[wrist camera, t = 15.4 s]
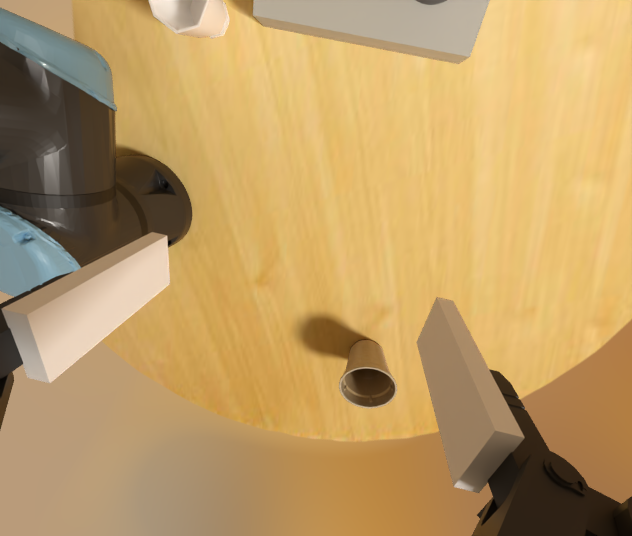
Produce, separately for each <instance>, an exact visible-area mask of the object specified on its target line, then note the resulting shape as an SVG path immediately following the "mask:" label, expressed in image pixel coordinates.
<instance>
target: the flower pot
mask: <svg viewBox="0 0 632 536" xmlns="http://www.w3.org/2000/svg"><path fill="white" fill-rule="evenodd" d="M339 389H340V392H341V394H342V396H343V397H344V398H345V399H346V400H347V401H348V402H350V403H351V404H353V405H355V406H358V407H362V408H377V407H381V406H384V405H386V404H388V403H389V402H391V401H392V400H393V399H394V397H395V396H396V393H397V384H396V381H395V379H394V378H393V377H392V375H391V373H390V372H389V369H388V366H387V363H386V360H385V357H384V353H383V350H382V348H381V346H380V345H378V344H377V343H375V342H374V341H371V340H361V341H358V342H356V343H355V344H354V345H353V346H352V347H351V349H350V354H349V358H348V362H347V367H346V371H345V372H344V374H343V376H342V377H341V379H340V382H339Z"/></svg>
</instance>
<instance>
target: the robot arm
mask: <svg viewBox="0 0 632 536" xmlns="http://www.w3.org/2000/svg"><path fill="white" fill-rule="evenodd" d="M115 111H117V107H116V105H115V104H114V94H113V81H112V72H111V69H110V67H109V65H108V63H107V62H106V60H105V59H104V58H103V57H102V56H101V55H100V54H99V53H98V52H97V51H95V50H94V49H92V48H90V47H88V46H86V45H84V44H82V43H80V42H77V41H75V40H73V39H71V38H68V37H66V36H64V35H62V34H60V33H57V32H55V31H53V30H50V29H48V28H46V27H44V26H42V25H39V24H36V23H35V22H32V21H30V20H28V19H25V18H23V17H21V16H18V15H16V14H14V13H11V12H9V11H7V10H4V9H2V8H0V291H2V292H4V293H6V294H8V295H11V296H14V298H12V299H9V300H7V301H5V302H3V303H2V304H0V429H1V425H2V422H3V418H4V414H5V411H6V407H7V404H8V400H9V397H10V393H11V389H12V386H13V382H14V376H13V373H12V371H14V370H15V369H16V368H18V367H19V366H21V365H22V364H23V366H24V369H25V372H26V374H27V377H28V378H32V379H36V380H40V381H43V382H48V383H50V382H52V381H53V380H54V379H56V378H57V377H58V376H59V375H60V374H61V373H63V372H64V371H65V370H66V369H68V368H69V367H70V366H71V365H72V364H74V363H75V362H76V361H77V360H78V359H80V358H81V357H82V356H83V355H85V354H86V353H87V352H88V351H89V350H91V349H92V348H93V347H94V346H95V345H97V344H98V343H99V342H100V341H101V340H103V339H104V338H105V337H106V336H108V335H109V334H110V333H111V332H112V331H114V330H115V329H116V328H117V327H118V326H120V325H121V324H122V323H123V322H124V321H126V320H127V319H128V318H129V317H131V316H132V315H133V314H134V313H135V312H137V311H138V310H139V309H140V308H141V307H143V306H144V305H145V304H146V303H147V302H149V301H150V300H151V299H152V298H153V297H155V296H156V295H157V294H158V293H160V292H161V291H162V290H163V289H164V288H166V287H167V286H168V285H169V284H170V276H169V258H168V247H170V246H172V245H174V244H175V243H177V242H179V241H180V240H181V239H182V238H183V237H184V236H185V235H186V234H187V232H188V230H189V228H190V225H191V221H192V207H191V202H190V199H189V196H188V193H187V191H186V189H185V187H184V186H183V184H182V182H181V181H180V180H179V178H178V177H177V176H176V175H175V174H174V173H173V172H172V171H171V170H170V169H169V168H168V167H167V166H165V165H164V164H162V163H161V162H159V161H157V160H155V159H153V158H150V157H147V156H143V155H127V156H120V157H116V140H115ZM417 345H418V349H419V353H420V357H421V361H422V365H423V369H424V373H425V377H426V380H427V384H428V388H429V392H430V396H431V400H432V404H433V408H434V412H435V416H436V420H437V423H438V427H439V431H440V435H441V439H442V443H443V447H444V451H445V455H446V459H447V463H448V466H449V470H450V474H451V478H452V482H453V486H454V487H457V488H461V489H465V490H469V491H473V492H476V493H479V492H480V491H481V490H482V489H483V487H484V486H485V485H486V484H487V483H489V486H490V489H491V492H492V495H493V498H492V499H491V500H490V501H489V502H488V503H487V504H486V506H485V507H484V508H483V509H482V510H481V511H480V512H479V513H478V515H477V516H478V517H479V518H480V520H479V523H478V524H477V527H476V528H475V530H474V532H473V535H472V536H632V497H630V498H629V499H627V500H626V501H625V502H624V503H622V504H621V503H619V502H617V501H615V500H613V499H611V498H609V497H607V496H605V495H603V494H601V493H599V492H598V491H596V490H594V489H592V488H590V487H588V485H587V484H586V481H585V480H584V478H583V477H582V476H581V475H580V473H579V472H578V471H577V470H576V469H575V468H574V467H573V466H572V465H571V464H570V463H568V462H567V461H566V460H565V459H563V458H562V457H560V456H559V455H557V454H555V453H553V452H551V451H549V449H548V447H547V445H546V443H545V442H544V440H543V438H542V437H541V435H540V433H539V431H538V430H537V428H536V427H535V424H534V423H533V421H532V419H531V418H530V416H529V414H528V412H527V411H526V410H524V409H525V407H524V406H523V404H522V402H521V400H519V399H518V395H517V393H516V392H515V390H514V388H513V386H512V385H511V384H510V382H509V381H508V380H507V379H506V378H505V377H504V376H503V375H502V374H501V373H500V372H498V371H494V370H489V368H488V366H487V365H486V363H485V361H484V359H483V357H482V355H481V353H480V351H479V349H478V347H477V345H476V344H475V342H474V340H473V338H472V336H471V334H470V332H469V330H468V328H467V326H466V324H465V323H464V321H463V319H462V317H461V315H460V313H459V311H458V309H457V307H456V305H455V303H454V302H453V301H451V300H447V299H443V298H438V297H437V298H436V300H435V302H434V304H433V307H432V309H431V311H430V313H429V316H428V318H427V320H426V322H425V325H424V327H423V329H422V331H421V334H420V336H419V338H418V340H417Z"/></svg>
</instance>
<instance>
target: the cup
mask: <svg viewBox="0 0 632 536" xmlns="http://www.w3.org/2000/svg"><path fill="white" fill-rule="evenodd" d="M148 1H149V4H150V7H151V10H152V13H153V16H154V17H155V18H157V19H158V20H159V21H160V22H162V23H163V24H164V25H166V26H167V27H168V28H170V29H171V30H172V31H174V32H175V33H176V34H180V35H187V36H192V37H197V38H203V37H210V38H212V39H213V38H216V37H220V36H223V35H224V34H225V32H226V29H227V27H228V24H229V22H230V20H229V15H228V11H227V7H226V3H224V2H223V1H222V0H148Z"/></svg>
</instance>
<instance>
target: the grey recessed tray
mask: <svg viewBox="0 0 632 536" xmlns="http://www.w3.org/2000/svg"><path fill="white" fill-rule="evenodd" d="M489 1H490V0H254V4H253V16H254V17H255V18H256V19H257V20H258V21H259V22H260V23H261V24H262V25H263V26H265V27H270V28H275V29H280V30H286V31H291V32H296V33H301V34H306V35H311V36H317V37H322V38H327V39H332V40H337V41H342V42H348V43H353V44H358V45H363V46H368V47H373V48H379V49H384V50H389V51H394V52H399V53H404V54H410V55H415V56H420V57H425V58H430V59H435V60H441V61H446V62H451V63H456V64H459V63H461V62H463V61H464V60H466V59H467V58H469V57H470V55H471V52H472V49H473V46H474V44H475V41H476V38H477V35H478V32H479V29H480V26H481V24H482V21H483V18H484V15H485V12H486V9H487V6H488V3H489Z"/></svg>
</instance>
